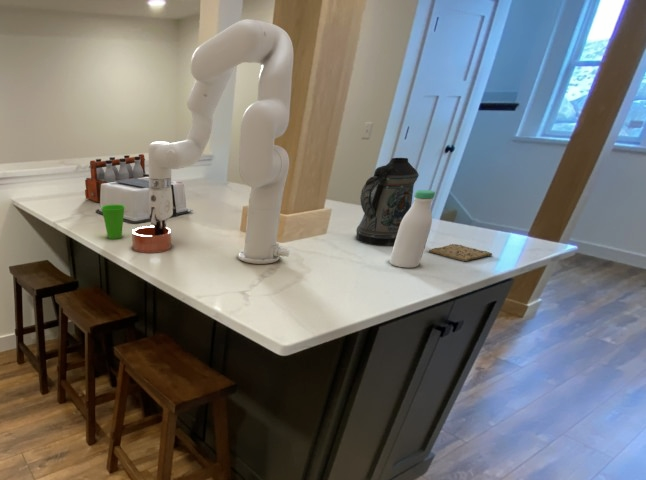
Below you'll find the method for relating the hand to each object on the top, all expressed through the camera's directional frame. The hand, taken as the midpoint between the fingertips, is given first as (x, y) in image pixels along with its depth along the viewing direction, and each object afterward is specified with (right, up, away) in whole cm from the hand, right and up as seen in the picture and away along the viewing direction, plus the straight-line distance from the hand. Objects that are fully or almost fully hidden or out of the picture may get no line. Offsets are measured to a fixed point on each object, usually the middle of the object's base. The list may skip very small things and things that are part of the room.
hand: (160, 238), depth 160 cm
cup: (-17, +4, +10) cm, 20 cm away
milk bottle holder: (-16, +47, +77) cm, 92 cm away
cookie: (+91, -13, -23) cm, 95 cm away
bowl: (-3, -4, -4) cm, 6 cm away
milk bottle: (+70, -17, -29) cm, 78 cm away
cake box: (-5, +27, +45) cm, 52 cm away
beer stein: (+75, -3, -8) cm, 75 cm away
